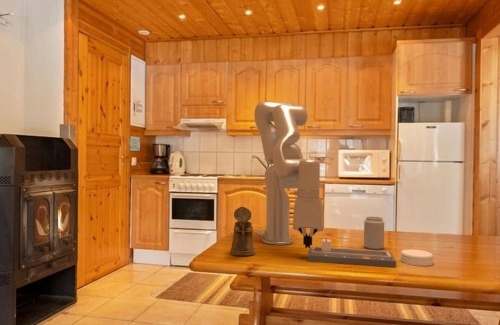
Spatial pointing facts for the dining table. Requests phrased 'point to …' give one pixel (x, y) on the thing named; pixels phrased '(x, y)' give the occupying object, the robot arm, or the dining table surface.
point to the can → (374, 233)
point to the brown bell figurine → (242, 234)
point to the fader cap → (326, 245)
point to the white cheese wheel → (417, 257)
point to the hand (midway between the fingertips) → (307, 246)
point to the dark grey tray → (352, 257)
